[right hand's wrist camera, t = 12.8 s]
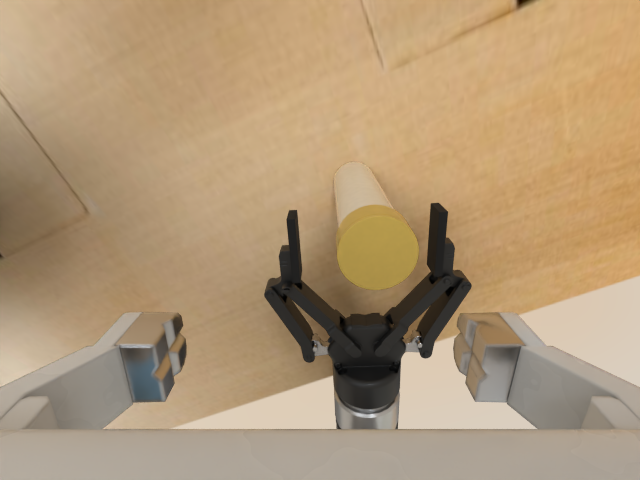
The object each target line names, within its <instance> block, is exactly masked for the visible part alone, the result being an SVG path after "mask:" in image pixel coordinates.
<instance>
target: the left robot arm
mask: <svg viewBox="0 0 640 480" xmlns="http://www.w3.org/2000/svg"><path fill="white" fill-rule="evenodd" d="M447 216H448V211H447V210H445V209H444V208H443V207H442V206H441V205H440V204H439V203H431V210H430V225H429V240H428V255H427V265H428V267H429V269H430V270H431V272H430V273H429V274H428V275H427V276H426V277H425V278H424V279H423V280H422V281H421V282H420V283H419V284H418V285H417V286H416V287H415V288H414V289H413V290H412V291H411V292H410V293H409V294H408V295H407V296H406V297H405V298H404V299H403V300H402V301H401V302H400V303H399V304H398V305H397V306H396V307H392V308H391V309H390V310H389V311H388V312H387V313H386V314H385V315H384V316H382V315H380V314H379V313H371V314H367V315H361V314H351V316H350V317H347V318H345V317H344V316H343V315H342V314H341V313H339V312H338V311H337V310H334V309H332V308H331V307H330V306H329V305H328V304H327V303H326V302H325V301H324V300H323V299H321V298H320V297H319V296H318V295H317V294H316V293H315V292H314V291H313V290H312V289H311V288H309V287H308V286H307V285H306V284H305V283H304V282H303V281H302V280H301V274H302V264H301V252H300V240H299V228H298V216H297V210H289V213H288V217H287V229H288V239H289V245H282V247H281V250H280V254H279V261H280V270H281V276H280V277H279V278H276V279H275V278H271V279H269V280H268V283H267V286H266V290H265V293H264V296H265V298H266V299H267V301H268V302H269V303H270V305H271V306H272V308H273V309H274V310H275V312H276V313H277V314H278V316H279V317H280V319H281V320H282V321H283V323H284V324H285V325H286V327H287V328H288V330H289V331H290V332H291V334H292V335H293V336H294V338H295V339H296V341H297V342H298V343H299V345H300V346H301V350H302V354H303V358H304V360H305V361H306V362H313V361H314V359H315V356H318V355H326V354H329V356H330V357H331V358H332V361H333V380H334V397H335V416H336V423H337V429H398V414H399V396H400V394H399V389H400V368H401V358H402V356H403V354H404V353H405V352H420V355H421V357H422V358H429V357H430V356H431V355H432V351H433V346H434V342H435V340H436V339H437V337H438V336H439V334H440V333H441V331H442V330H443V328H444V327H445V325H446V324H447V323H448V321H449V320H450V318H451V317H452V315H453V314H454V312H455V311H456V309H457V308H458V306H459V305H460V304H461V302H462V301H463V299H464V298H465V296H466V295H467V293H468V292H469V290H470V289H471V283H470V282H469V281H468V279H467V278H466V277H465V275H464V274H463V273H462V271H460V270H455V271H454V270H453V261H454V251H455V248H454V245H453V243H452V242H451V240H450V239H449V238H446V228H447ZM292 300H293V301H294V302H295V303H296V304H297V305H298V306H300V307H301V308H302V309H303V310H304V311H305V312H306V313H308V314H309V315H310V316H311V317H312V318H313V319H314V320H315V321H317V322H318V323H319V324H320V325H321V326H322V327H323V328H325V329H326V331H327V333H328V335H329V336H330V338H329V339H328V342H324V341H322V340H321V339H320V337H319V336H318V334H313V331H312V329H311V327H310V325H309V324H308V322H307V321H306V320H305V318H304V317H303V315H302V314H301V312H300V311H299V310H298V308H297V307H296V305H295V304H294V302H293V301H292ZM430 305H431V306H430ZM429 306H430V307H429ZM428 307H429V309H428V310H427V312H426V313H425V315H424V316H423V318H422V320H421V321H420V323H419V325H418V328H417V330H413V331H412V334H411V336H410V337H409V338H407V339H404V338H403V336H404V335H405V334H406V332H407V331H408V327H409V326H410V325H411V324H412V323H413V322H414V321H415V320H416V319H417V318H418V317H419V316H420V315H421V314H422V313H423V312H424V311H425V310H426V309H427V308H428ZM392 324H394V326H393V325H392Z"/></svg>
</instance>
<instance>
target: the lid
mask: <svg viewBox="0 0 640 480" xmlns="http://www.w3.org/2000/svg"><path fill="white" fill-rule="evenodd" d="M336 250H337V261H338V265H339V268H340V270H341V272H342V273H343V275H344V276H345V277H346V278H347V279H348V280H349V281H350V282H352V283H353V284H355V285H356V286H359V287H361V288H364V289H369V290H383V289H387V288H391V287H393V286H396V285H397V284H399V283H401V282H402V281H404V280H405V279H406V278H407V277H408V276H409V275H410V274H411V273H412V271H413V269H414V268H415V266H416V264H417V260H418V256H419V246H418V241H417V238H416V236H415V234H414V233H413V231H412V229H411V228H410V226H409V225H408V223H407V222H406V220H405V218H404V217H403V216H402V215H401V214H400V213H399V212H397V211H396V210H394V209H392V208H390V207H387V206H384V205H367V206H363V207H360V208H358V209H356V210H354V211H352V212H351V213H350V214H348V215H347V216H346V217H345V218H344V220H343V221H342V222H341V224H340V226H339V228H338V231H337V235H336Z"/></svg>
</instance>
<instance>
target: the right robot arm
mask: <svg viewBox="0 0 640 480" xmlns="http://www.w3.org/2000/svg"><path fill="white" fill-rule="evenodd" d="M182 327H183V322H182V317H181V315H180V314H179V313H159V312H127V313H124V314H123V315H122V316H121V317H120V318H119V319H118V320H117V321H116V322H115V323H114V324H113V325H112V326H111V327H110V329H109V330H108V331H107V332H106V333H105V334H104V335H103V336H102V337H101V338H100V339H99V340H98V341H97V343H96V344H95V345H94V346H87V347H84V348H82V349H80V350H78V351H76V352H74V353H72V354H70V355H67V356H65V357H63V358H61V359H59V360H57V361H55V362H53V363H51V364H48V365H46V366H44V367H42V368H40V369H38V370H36V371H34V372H31V373H29V374H27V375H25V376H23V377H21V378H19V379H17V380H15V381H12V382H10V383H8V384H6V385H4V386H2V387H0V480H640V387H638V386H636V385H634V384H632V383H629V382H627V381H625V380H623V379H621V378H619V377H617V376H615V375H613V374H611V373H608V372H606V371H604V370H602V369H600V368H598V367H596V366H594V365H591V364H589V363H587V362H585V361H583V360H581V359H579V358H577V357H575V356H572V355H570V354H568V353H566V352H564V351H562V350H560V349H558V348H556V347H553V346H546V345H545V344H544V343H543V341H542V340H541V339H540V338H539V337H538V336H537V335H536V334H535V333H534V332H533V331H532V330H531V329H530V327H529V326H528V325H527V324H526V323H525V322H524V321H523V320H522V319H521V318H520V317H519V316H518V315H517V314H516V313H514V312H495V313H460V315H459V317H458V321H457V327H458V329H459V330H460V332H461V333H460V334H459V335H458V336H457V337H456V338H455V340H454V348H453V349H454V359H455V362H456V365H457V367H458V369H459V371H460V372H461V373H462V374H464V375H465V376H467V377H466V385H467V387H468V389H469V391H470V393H471V395H472V397H473V399H474V400H475V402H507V404H508V405H509V406H510V407H511V408H513V409H514V410H515V411H516V412H518V413H519V414H520V415H521V416H522V417H524V418H525V419H526V420H527V421H529V422H530V423H531V424H532V425H534V426H535V427H536V428H537V429H103V428H104V427H105V426H107V425H108V424H109V423H110V422H111V421H113V420H114V419H115V418H116V417H118V416H119V415H120V414H121V413H123V412H124V411H125V410H126V409H128V408H129V407H130V406H131V405H132V404H133V402H165V401H166V399H167V397H168V395H169V393H170V391H171V389H172V387H173V385H174V377H173V376H175V375H176V374H178V373H179V372H180V371H181V370H182V367H183V365H184V363H185V358H186V339H185V338H184V337H183V336H182V335H181V334H180V333H179V332H180V330H181V329H182Z"/></svg>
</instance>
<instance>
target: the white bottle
mask: <svg viewBox="0 0 640 480" xmlns="http://www.w3.org/2000/svg"><path fill="white" fill-rule="evenodd" d="M333 184H334V194H335V204H336V213H337V222H338V228H339V226H340V224H341V222H342V221H343V220H344V218H345V217H346V216H347V215H348V214H350V213H351V212H352V211H354V210H356V209H358V208H360V207H363V206H367V205H384V206H387V207H390V208H392V209H394V207H393V206H392V204H391V202H390V201H389V199H388V197H387V196H386V194H385V192H384V191H383V189H382V187H381V186H380V184H379V182H378V181H377V179H376V177H375V176H374V174H373V172H372V171H371V169H370V168H369V167H368V166H367V165H365V164H363V163H361V162H349V163H346V164H344V165H343V166H341V167H340V168H339V169H338V170H337V172H336V174H335V176H334V181H333ZM394 210H395V209H394Z"/></svg>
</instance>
